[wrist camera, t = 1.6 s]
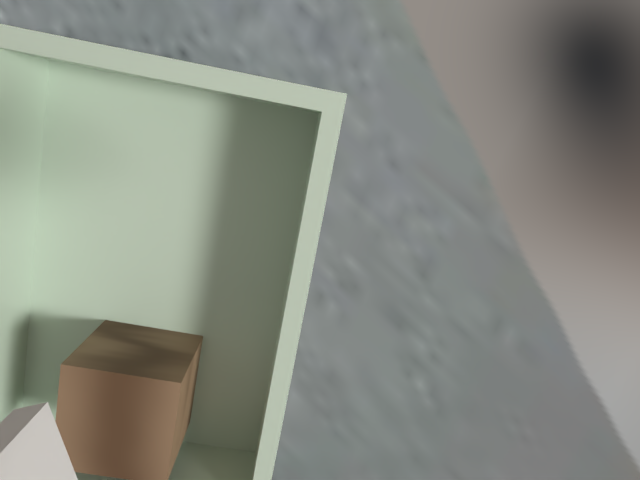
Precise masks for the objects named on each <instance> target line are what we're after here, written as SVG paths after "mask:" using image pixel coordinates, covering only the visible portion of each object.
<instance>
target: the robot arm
mask: <svg viewBox="0 0 640 480" xmlns="http://www.w3.org/2000/svg"><path fill="white" fill-rule="evenodd" d="M0 480H78V479H77V476H76V474H75V471H74V469H73V466H72V463H71V461H70V458H69V456H68V453H67V450H66V448H65V445H64V443H63V440H62V438H61V435H60V432H59V430H58V427H57V425H56V422H55V419H54V417H53V414H52V412H51V409H50V407H49V404H48V402H45V403H41V404H36V405H32V406H27V407H23V408H18V409H14V410H13V411H12V412H11V413H10V414H9V415H8V416H7V417H6V418H5V419H4V420H3V421H2V422H1V423H0Z"/></svg>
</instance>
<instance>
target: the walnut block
mask: <svg viewBox="0 0 640 480" xmlns="http://www.w3.org/2000/svg"><path fill="white" fill-rule="evenodd" d="M202 341H203V336H201V335H195V334H189V333H183V332H177V331H170V330H164V329H158V328H152V327H146V326H140V325H134V324H128V323H122V322H116V321H110V320H105V321H104V322H103V323H102V324H101V325H100V326H99V327H98V328H97V329H96V330H95V331H94V332H93V333H91V334H90V335H89V336H88V337H87V338H86V339H85V340H84V341H83V342H82V343H81V344H80V345H79V346H78V347H77V348H76V349H75V350H74V351H73V352H72V353H71V354H70V355H69V356H68V357H67V358H66V359H65V360H64V361H63V362H62V363H61V366H60V377H59V388H58V399H57V409H56V420H55V422H56V425H57V427H58V430H59V432H60V435H61V438H62V440H63V443H64V445H65V448H66V450H67V453H68V456H69V458H70V461H71V463H72V466H73V469H74V471H75V472H78V473H85V474H92V475H99V476H106V477H113V478H120V479H127V480H168V479H169V476H170V473H171V471H172V468H173V466H174V463H175V460H176V458H177V455H178V452H179V450H180V447H181V444H182V442H183V439H184V436H185V434H186V431H187V428H188V426H189V423H190V419H191V412H192V406H193V399H194V393H195V386H196V380H197V373H198V367H199V360H200V354H201V347H202Z"/></svg>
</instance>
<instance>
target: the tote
mask: <svg viewBox="0 0 640 480" xmlns="http://www.w3.org/2000/svg"><path fill="white" fill-rule="evenodd" d="M346 97H347V94H344V93H339V92H334V91H329V90H325V89H320V88H315V87H310V86H305V85H300V84H295V83H290V82H285V81H280V80H275V79H270V78H265V77H260V76H255V75H250V74H245V73H240V72H236V71H231V70H226V69H221V68H216V67H211V66H206V65H201V64H196V63H191V62H186V61H181V60H176V59H171V58H166V57H161V56H156V55H152V54H147V53H142V52H137V51H132V50H127V49H122V48H117V47H112V46H107V45H102V44H97V43H92V42H87V41H82V40H77V39H72V38H68V37H63V36H58V35H53V34H48V33H43V32H38V31H33V30H28V29H23V28H18V27H13V26H8V25H3V24H0V423H1V422H2V421H3V420H4V419H5V418H6V417H7V416H8V415H9V414H10V413H11V412H12V411H13V410H14V409H18V408H23V407H27V406H32V405H36V404H41V403H45V402H48V404H49V407H50V409H51V412H52V414H53V417H54V419H55V420H56V409H57V399H58V388H59V377H60V366H61V363H62V362H63V361H64V360H65V359H66V358H67V357H68V356H69V355H70V354H71V353H72V352H73V351H74V350H75V349H76V348H77V347H78V346H79V345H80V344H81V343H82V342H83V341H84V340H85V339H86V338H87V337H88V336H89V335H90V334H91V333H93V332H94V331H95V330H96V329H97V328H98V327H99V326H100V325H101V324H102V323H103V322H104V321H105V320H110V321H116V322H122V323H128V324H134V325H140V326H146V327H152V328H158V329H164V330H170V331H177V332H183V333H189V334H195V335H201V336H203V341H202V347H201V354H200V360H199V367H198V373H197V380H196V386H195V393H194V399H193V406H192V412H191V419H190V423H189V426H188V428H187V431H186V434H185V436H184V439H183V442H182V444H181V447H180V450H179V452H178V455H177V458H176V460H175V463H174V466H173V468H172V471H171V473H170V476H169V479H168V480H271V479H272V474H273V469H274V464H275V459H276V454H277V449H278V444H279V438H280V433H281V428H282V423H283V418H284V413H285V408H286V403H287V398H288V393H289V387H290V382H291V377H292V372H293V367H294V362H295V357H296V352H297V347H298V342H299V337H300V331H301V326H302V321H303V316H304V311H305V306H306V301H307V296H308V291H309V286H310V281H311V275H312V270H313V265H314V260H315V255H316V250H317V245H318V240H319V235H320V230H321V225H322V219H323V214H324V209H325V204H326V199H327V194H328V189H329V184H330V179H331V174H332V168H333V163H334V158H335V153H336V148H337V143H338V138H339V133H340V128H341V123H342V118H343V112H344V107H345V102H346ZM75 474H76V476H77V479H78V480H127V479H120V478H113V477H106V476H99V475H92V474H85V473H78V472H75Z"/></svg>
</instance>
